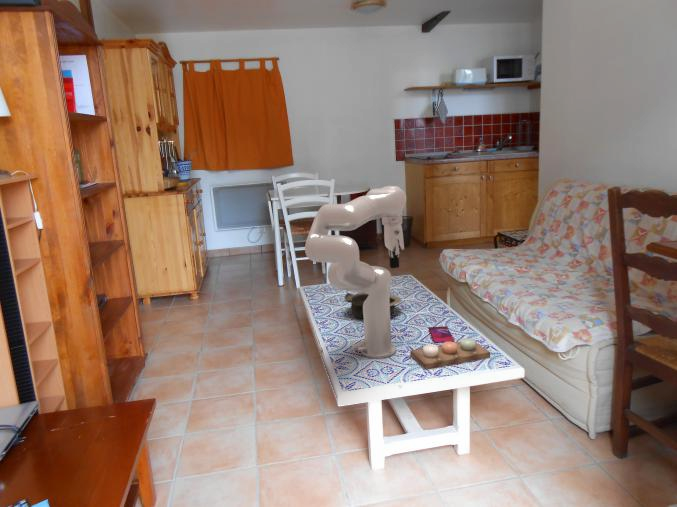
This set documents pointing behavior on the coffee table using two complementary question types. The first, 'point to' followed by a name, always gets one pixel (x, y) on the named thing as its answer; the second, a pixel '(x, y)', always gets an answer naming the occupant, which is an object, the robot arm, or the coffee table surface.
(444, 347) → the terracotta button
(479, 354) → the button board
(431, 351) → the off-white button
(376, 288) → the robot arm
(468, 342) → the sage button
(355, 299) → the stone bowl
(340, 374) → the coffee table surface
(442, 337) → the smartphone
